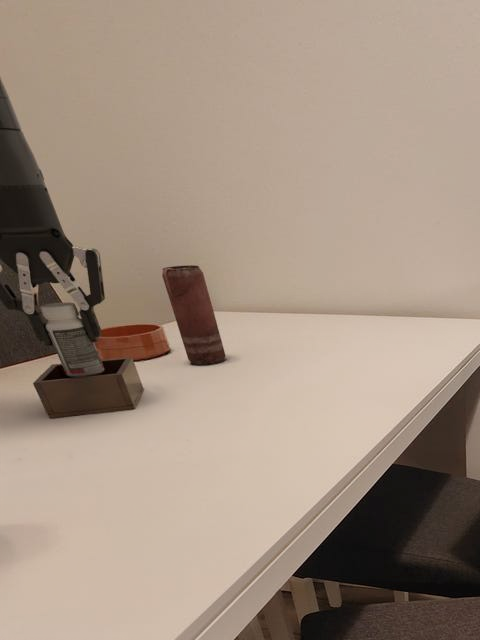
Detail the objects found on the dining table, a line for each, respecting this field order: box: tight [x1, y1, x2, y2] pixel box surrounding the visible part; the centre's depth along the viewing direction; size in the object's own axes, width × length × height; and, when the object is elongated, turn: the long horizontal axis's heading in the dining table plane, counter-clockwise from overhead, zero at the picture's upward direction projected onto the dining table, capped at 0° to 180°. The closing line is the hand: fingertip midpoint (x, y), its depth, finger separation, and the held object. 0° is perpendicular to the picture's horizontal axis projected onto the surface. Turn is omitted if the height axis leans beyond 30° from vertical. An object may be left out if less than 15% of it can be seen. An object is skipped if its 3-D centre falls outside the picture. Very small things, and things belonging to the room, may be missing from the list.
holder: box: [32, 357, 144, 419], centre depth 82 cm, size 11×11×4 cm
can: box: [161, 264, 226, 366], centre depth 98 cm, size 6×6×14 cm
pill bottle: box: [39, 302, 104, 377], centre depth 79 cm, size 5×5×8 cm
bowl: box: [94, 323, 171, 362], centre depth 106 cm, size 12×12×4 cm
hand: (73, 342), depth 79 cm, fingers closed on pill bottle, 4 cm apart
